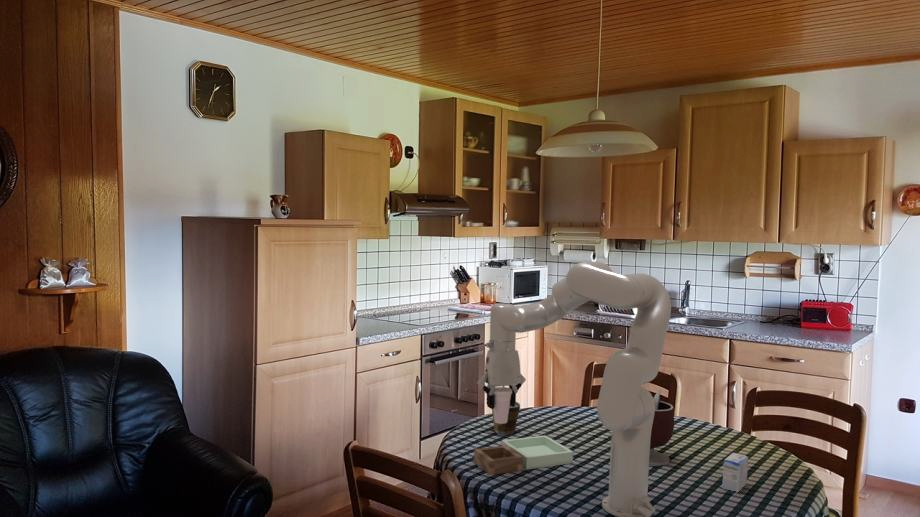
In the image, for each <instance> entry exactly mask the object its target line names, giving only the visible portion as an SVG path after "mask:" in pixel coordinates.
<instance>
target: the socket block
mask: <svg viewBox="0 0 920 517" xmlns="http://www.w3.org/2000/svg"><path fill="white" fill-rule="evenodd" d="M473 463H474V464H475V463H476V465H477V466H478V467H479V468H480V469H482V470H483V471H484V472H485V473H486V474H487V475H489V476H493V475H499V474H507V473H514V472H522V471H523V466H522V463H523V457H522V456H520V455H519V454H517V453H516V452H515V451H513V450H512V449H510V448H509V447H507V446H506V445H505V446H502V445H498V446H490V447H481V448H475V449H474V450H473Z"/></svg>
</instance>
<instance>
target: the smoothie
mask: <svg viewBox="0 0 920 517" xmlns="http://www.w3.org/2000/svg"><path fill="white" fill-rule="evenodd" d="M511 394H512V389H511V388H509V387H508V386H497V387H495V390H494V392H493V395H494V396H495V398H494V409H493V411H494V421H495V423H499V424H505V423H507V419H508V413H509V406H510V399H511ZM494 421H493V422H494Z"/></svg>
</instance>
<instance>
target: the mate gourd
mask: <svg viewBox="0 0 920 517" xmlns="http://www.w3.org/2000/svg"><path fill="white" fill-rule="evenodd" d="M661 392H662V391H661V389H660V390H658V391H656V393H655V395H654V397H653V399H654V403H655V413H654V419H653V424H652V429H651V438H650V453H649V467H651V466H653V467H660V466H662V465H663V466H666V465H668V464H670V462H669V461H670V457H669V456H668V455H666V454H664V453H661V452H660V451H655V449H657V448H660V447H661V448H662V447H664V446H666V445H667V444H668V443H669V442H670V441H671V439H672V437H673V433H674V429H675V413H674V406H673V405H672V404H671V403H668V402H665V401H662V400H661V399H660V396H661Z"/></svg>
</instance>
